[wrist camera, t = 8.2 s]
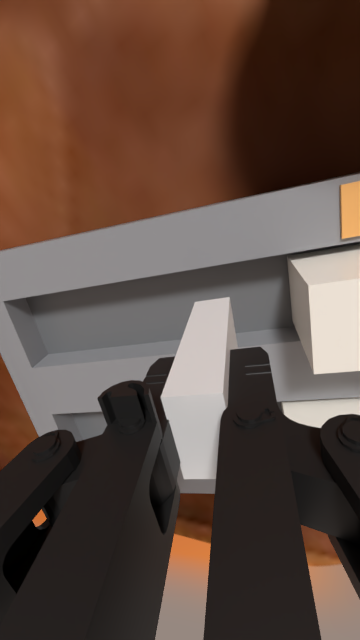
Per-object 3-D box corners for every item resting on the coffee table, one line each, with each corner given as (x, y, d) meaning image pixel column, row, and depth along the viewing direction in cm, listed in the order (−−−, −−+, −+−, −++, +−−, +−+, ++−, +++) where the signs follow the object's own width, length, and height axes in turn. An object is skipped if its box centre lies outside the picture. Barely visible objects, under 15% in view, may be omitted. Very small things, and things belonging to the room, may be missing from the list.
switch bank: (2, 249, 23) (-46, 261, 19) (488, 143, 16) (568, 128, 12) (85, 454, 30) (63, 493, 26) (449, 448, 22) (491, 500, 19)
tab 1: (287, 255, 17) (308, 285, 12) (386, 239, 16) (462, 263, 11) (292, 320, 19) (313, 374, 13) (384, 310, 17) (450, 364, 12)
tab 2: (279, 390, 21) (293, 462, 15) (362, 385, 19) (409, 461, 14) (284, 437, 22) (299, 518, 17) (362, 435, 21) (404, 521, 15)
